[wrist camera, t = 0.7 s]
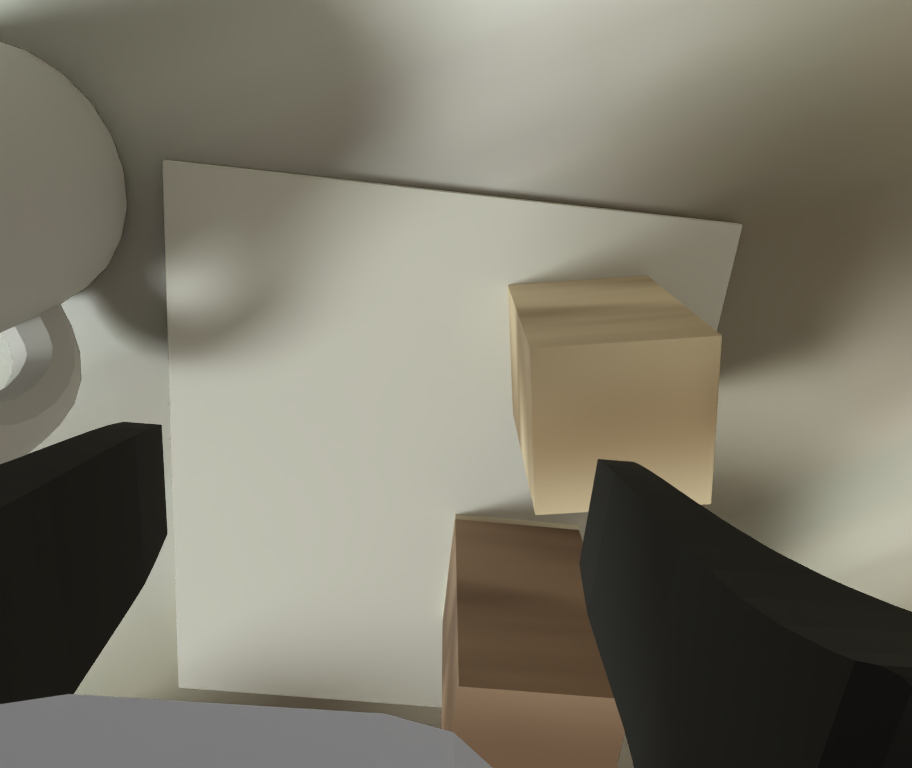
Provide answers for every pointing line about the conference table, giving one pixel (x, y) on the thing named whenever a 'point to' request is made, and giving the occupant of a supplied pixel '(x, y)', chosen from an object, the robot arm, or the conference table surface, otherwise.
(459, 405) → the mat
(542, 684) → the walnut block
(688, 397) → the oak block
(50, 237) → the cup
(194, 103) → the conference table surface
